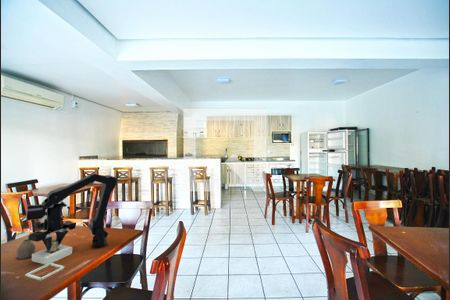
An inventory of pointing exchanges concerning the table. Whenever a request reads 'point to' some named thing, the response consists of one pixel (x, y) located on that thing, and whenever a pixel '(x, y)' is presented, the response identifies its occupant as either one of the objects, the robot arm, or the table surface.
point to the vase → (26, 249)
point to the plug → (53, 246)
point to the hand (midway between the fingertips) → (53, 248)
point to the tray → (47, 274)
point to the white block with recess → (51, 255)
